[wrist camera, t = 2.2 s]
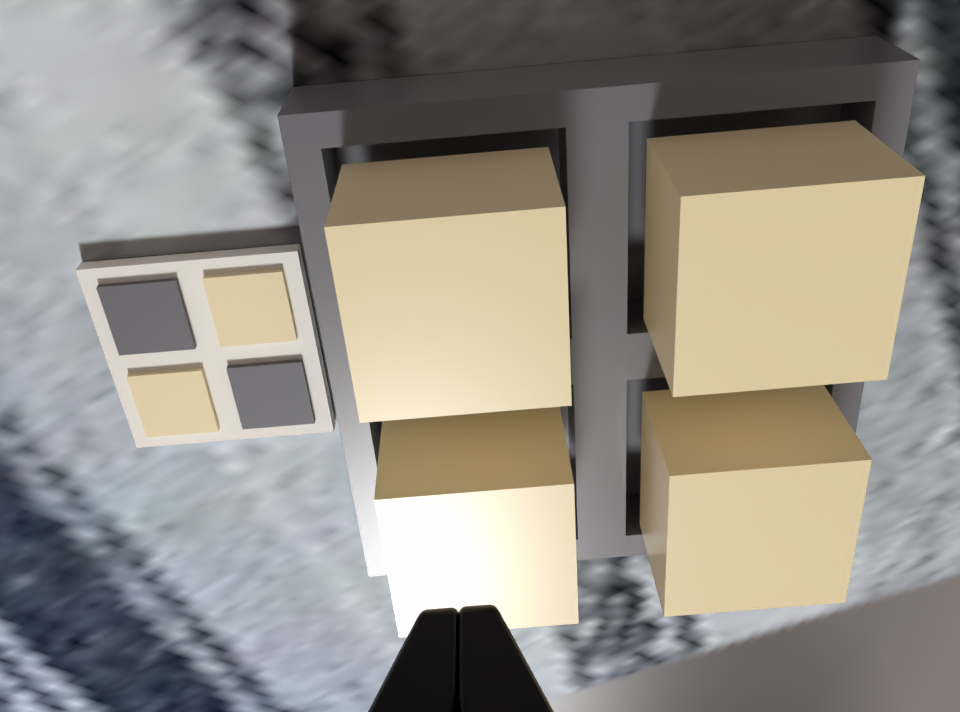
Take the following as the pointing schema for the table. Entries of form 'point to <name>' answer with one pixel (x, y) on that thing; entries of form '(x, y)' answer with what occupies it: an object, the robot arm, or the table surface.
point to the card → (211, 344)
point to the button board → (577, 213)
